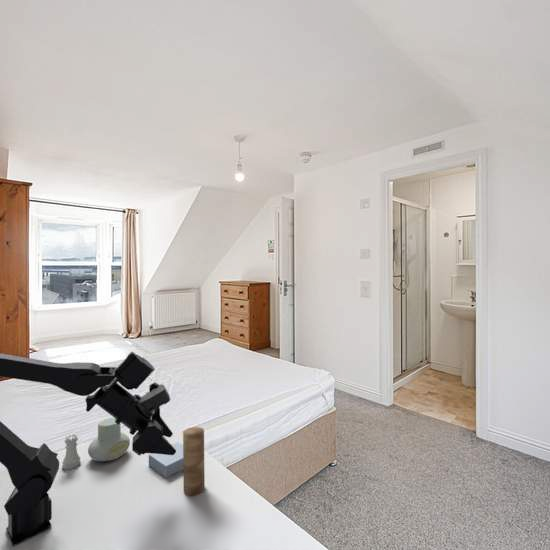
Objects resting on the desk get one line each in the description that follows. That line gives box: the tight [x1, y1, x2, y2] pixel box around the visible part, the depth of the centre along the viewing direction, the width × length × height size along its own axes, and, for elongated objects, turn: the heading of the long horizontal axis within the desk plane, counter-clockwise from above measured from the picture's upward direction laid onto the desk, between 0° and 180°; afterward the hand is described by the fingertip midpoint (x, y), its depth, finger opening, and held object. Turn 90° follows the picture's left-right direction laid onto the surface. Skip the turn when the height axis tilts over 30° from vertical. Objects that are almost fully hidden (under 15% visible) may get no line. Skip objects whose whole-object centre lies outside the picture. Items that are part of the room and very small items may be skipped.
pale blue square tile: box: [148, 442, 183, 479], centre depth 92 cm, size 9×9×3 cm
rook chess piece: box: [61, 434, 82, 471], centre depth 92 cm, size 4×4×8 cm
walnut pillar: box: [182, 426, 206, 497], centre depth 81 cm, size 5×5×14 cm
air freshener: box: [87, 417, 131, 462], centre depth 97 cm, size 11×8×10 cm
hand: (173, 443), depth 80 cm, fingers open, 9 cm apart
